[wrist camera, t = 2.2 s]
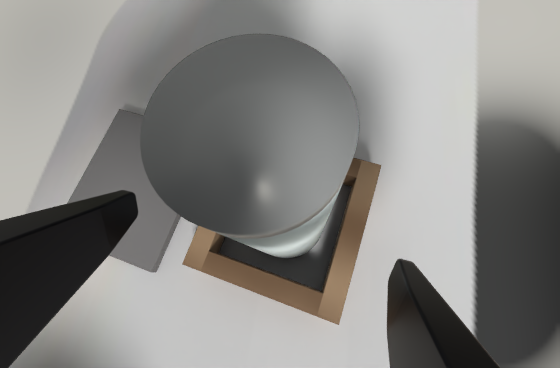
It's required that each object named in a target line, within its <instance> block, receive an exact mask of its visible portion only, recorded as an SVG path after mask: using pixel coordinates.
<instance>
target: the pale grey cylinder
mask: <svg viewBox="0 0 560 368" xmlns="http://www.w3.org/2000/svg"><path fill="white" fill-rule="evenodd" d="M358 134H359V117H358V109H357V105H356V101H355V98H354V95H353V93H352V90H351V88H350V86H349V84H348V82H347V81H346V79H345V77H344V76H343V74H342V73H341V72H340V71H339V69H338V68H337V67H336V66H335V65H334V64H333V63H332V62H331V61H330V60H329V59H328V58H327V57H326V56H324V55H323V54H321V53H320V52H319V51H317V50H316V49H314V48H312V47H310V46H308V45H307V44H304V43H302V42H299V41H297V40H294V39H291V38H287V37H283V36H277V35H271V34H247V35H239V36H234V37H229V38H226V39H222V40H219V41H216V42H214V43H211V44H209V45H206V46H204V47H203V48H201V49H199V50H197V51H195V52H194V53H192V54H190V55H189V56H187V57H186V58H185V59H183V60H182V61H181V62H180V63H178V64H177V65H176V66H175V67H174V68H173V69H172V70H171V71H170V72H169V73H168V74H167V75H166V76H165V78H164V79H163V80H162V81H161V83H160V84H159V85H158V87H157V88H156V90H155V92H154V93H153V95H152V97H151V99H150V101H149V103H148V106H147V108H146V111H145V114H144V117H143V121H142V127H141V134H140V149H141V157H142V162H143V165H144V169H145V172H146V174H147V177H148V179H149V181H150V183H151V185H152V187H153V188H154V190H155V191H156V193H157V194H158V196H159V197H160V198H161V199H162V200H163V201H164V203H165V204H166V205H167V206H169V207H170V208H171V209H172V210H173V211H174V212H176V213H177V214H178V215H180V216H182V217H183V218H185V219H186V220H188V221H190V222H192V223H194V224H197V225H199V226H201V227H203V228H206V229H208V230H211V231H213V232H216V233H218V234H221V235H223V236H226V237H228V238H230V239H233V240H235V241H238V242H240V243H243V244H245V245H248V246H250V247H252V248H255V249H257V250H260V251H262V252H265V253H267V254H270V255H272V256H275V257H279V258H294V257H297V256H300V255H303V254H304V253H306V252H308V251H309V250H310V249H312V248H313V246H314V245H315V244H316V243H317V242H318V240H319V238H320V236H321V234H322V232H323V229H324V227H325V224H326V222H327V220H328V217H329V215H330V213H331V210H332V208H333V205H334V203H335V201H336V198H337V196H338V193H339V191H340V189H341V186H342V184H343V182H344V179H345V177H346V174H347V172H348V170H349V167H350V165H351V162H352V159H353V157H354V154H355V151H356V146H357V142H358Z"/></svg>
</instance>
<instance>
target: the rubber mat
mask: <svg viewBox="0 0 560 368" xmlns="http://www.w3.org/2000/svg"><path fill="white" fill-rule="evenodd" d="M143 117H144V116H142V115H138V114H135V113H132V112H128V111H125V110H121V109H119V111H118V113H117V115H116V116H115V118H114V120H113V122H112V124H111V125H110V127H109V129H108V131H107V133H106V134H105V136H104V138H103V140H102V142H101V143H100V145H99V147H98V149H97V151H96V152H95V154H94V156H93V158H92V160H91V162H90V163H89V165H88V167H87V169H86V171H85V172H84V174H83V176H82V178H81V180H80V181H79V183H78V185H77V187H76V189H75V190H74V192H73V194H72V196H71V198H70V199H69V201H68V203H72V202H76V201H80V200H84V199H88V198H92V197H96V196H100V195H104V194H108V193H112V192H115V191H119V190H126V191H130V192H133V193H134V194H135V195H136V200H137V206H138V216H137V218H136V220H135V221H134V222H133V224H132V225H131V226H130V228H129V229H128V230H127V232H126V233H125V235H124V236H123V237H122V239H121V240H120V241H119V243H118V244H117V245H116V247H115V248H114V249H113V251H112V252H111V253H110V254H109V255H110V256H112V257H115V258H117V259H120V260H122V261H125V262H127V263H130V264H132V265H135V266H137V267H139V268H142V269H144V270H147V271H149V272H156V271H157V269H158V267H159V265H160V262H161V260H162V258H163V256H164V253H165V251H166V249H167V247H168V244H169V242H170V240H171V237H172V235H173V233H174V231H175V228H176V226H177V224H178V222H179V219H180V217H181V216H180V215H178V214H177V213H176V212H174V211H173V210H172V209H171V208H170V207H169V206H167V205H166V204H165V203H164V201H163V200H162V199H161V198H160V197H159V196H158V194H157V193H156V191H155V190H154V188H153V187H152V185H151V183H150V181H149V179H148V177H147V174H146V172H145V169H144V165H143V162H142V157H141V149H140V134H141V127H142V121H143ZM68 203H67V204H68Z"/></svg>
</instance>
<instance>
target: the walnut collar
mask: <svg viewBox="0 0 560 368" xmlns="http://www.w3.org/2000/svg"><path fill="white" fill-rule="evenodd" d="M380 169H381V165H378V164H375V163H371V162H367V161H364V160H360V159H357V158H353V159H352V162H351V165H350V167H349V170H348V172H347V174H346V177H345V179H344V182H343V184H344V185H347V186H351V187H352V188H351V191H350V195H349V198H348V202H347V205H346V208H345V212H344V215H343V219H342V222H341V226H340V229H339V233H338V236H337V239H336V243H335V246H334V250H333V253H332V257H331V260H330V264H329V267H328V270H327V274H326V277H325V281H324V284H323V288H322V291H320V290H317V289H314V288H312V287H309V286H306V285H304V284H301V283H298V282H295V281H293V280H290V279H287V278H285V277H282V276H279V275H277V274H274V273H271V272H268V271H266V270H263V269H260V268H258V267H255V266H252V265H250V264H247V263H244V262H242V261H239V260H236V259H233V258H231V257H228V256H225V255H223V254H220V253H219V251H220V248H221V246H222V243H223V241H224V238H225V236H223V235H221V234H218V233H216V232H213V231H211V230H208V229H206V228H203V227H201V226H198V228H197V230H196V233H195V235H194V237H193V240H192V242H191V245H190V247H189V249H188V252H187V254H186V256H185V259H184V261H183V265H186V266H188V267H191V268H193V269H196V270H199V271H201V272H204V273H206V274H209V275H211V276H214V277H217V278H219V279H222V280H224V281H227V282H230V283H232V284H235V285H237V286H240V287H242V288H245V289H248V290H250V291H253V292H255V293H258V294H260V295H263V296H266V297H268V298H271V299H273V300H276V301H278V302H281V303H284V304H286V305H289V306H291V307H294V308H297V309H299V310H302V311H304V312H307V313H309V314H312V315H315V316H317V317H320V318H322V319H325V320H327V321H330V322H333V323H335V324H338V325H339V322H340V318H341V315H342V311H343V307H344V303H345V300H346V296H347V292H348V288H349V285H350V281H351V277H352V273H353V270H354V266H355V262H356V258H357V255H358V251H359V247H360V244H361V240H362V236H363V232H364V229H365V225H366V221H367V217H368V214H369V210H370V206H371V202H372V199H373V195H374V191H375V187H376V184H377V180H378V176H379V172H380Z"/></svg>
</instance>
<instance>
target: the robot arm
mask: <svg viewBox="0 0 560 368" xmlns="http://www.w3.org/2000/svg"><path fill="white" fill-rule="evenodd" d="M137 216H138V206H137V200H136V195H135V194H134V193H133V192H130V191H126V190H119V191H115V192H112V193H108V194H104V195H100V196H96V197H92V198H88V199H84V200H80V201H76V202H72V203H68V204H64V205H60V206H56V207H52V208H48V209H44V210H40V211H36V212H32V213H28V214H24V215H21V216H17V217H13V218H9V219H5V220H1V221H0V368H9V366H10V365H11V364H12V363H13V362H14V361H15V360H16V359H17V357H18V356H19V355H20V354H21V353H22V352H23V351H24V350H25V349H26V347H27V346H28V345H29V344H30V343H31V342H32V341H33V340H34V338H35V337H36V336H37V335H38V334H39V333H40V332H41V331H42V329H43V328H44V327H45V326H46V325H47V324H48V323H49V322H50V321H51V319H52V318H53V317H54V316H55V315H56V314H57V313H58V312H59V310H60V309H61V308H62V307H63V306H64V305H65V304H66V303H67V302H68V300H69V299H70V298H71V297H72V296H73V295H74V294H75V293H76V291H77V290H78V289H79V288H80V287H81V286H82V285H83V284H84V282H85V281H86V280H87V279H88V278H89V277H90V276H91V275H92V274H93V272H94V271H95V270H96V269H97V268H98V267H99V266H100V265H101V263H102V262H103V261H104V260H105V259H106V258H107V257H108V256H109V254H110V253H111V252H112V251H113V249H114V248H115V247H116V245H117V244H118V243H119V241H120V240H121V239H122V237H123V236H124V235H125V233H126V232H127V230H128V229H129V228H130V226H131V225H132V224H133V222H134V221H135V220H136V218H137ZM387 340H388V351H389V361H390V368H500V367H499V365H498V364H497V363H496V362H495V361H494V359H493V358H492V357H491V356H490V355H489V353H488V352H487V351H486V350H485V349H484V347H483V346H482V345H481V344H480V343H479V341H478V340H477V339H476V338H475V336H474V335H473V334H472V333H471V332H470V330H469V329H468V328H467V327H466V326H465V324H464V323H463V322H462V321H461V320H460V318H459V317H458V316H457V315H456V314H455V312H454V311H453V310H452V309H451V307H450V306H449V305H448V304H447V303H446V301H445V300H444V299H443V298H442V297H441V295H440V294H439V293H438V292H437V291H436V289H435V288H434V287H433V286H432V285H431V283H430V282H429V281H428V280H427V279H426V277H425V276H424V275H423V274H422V272H421V271H420V270H419V269H418V268H417V266H416V265H415V264H414V263H413V262H411V261H407V260H403V259H398V260H397V261H396V263H395V265H394V268H393V270H392V272H391V275H390V277H389V280H388V302H387Z"/></svg>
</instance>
